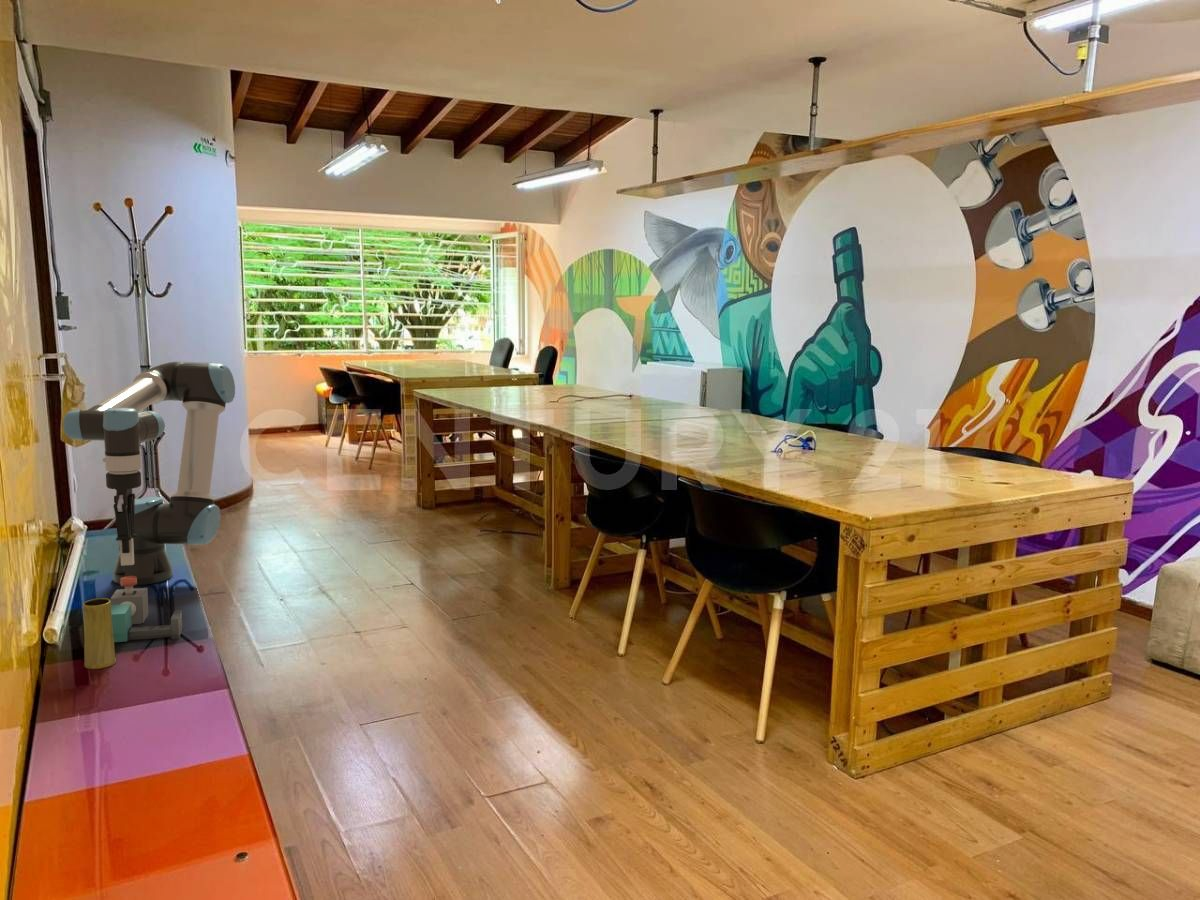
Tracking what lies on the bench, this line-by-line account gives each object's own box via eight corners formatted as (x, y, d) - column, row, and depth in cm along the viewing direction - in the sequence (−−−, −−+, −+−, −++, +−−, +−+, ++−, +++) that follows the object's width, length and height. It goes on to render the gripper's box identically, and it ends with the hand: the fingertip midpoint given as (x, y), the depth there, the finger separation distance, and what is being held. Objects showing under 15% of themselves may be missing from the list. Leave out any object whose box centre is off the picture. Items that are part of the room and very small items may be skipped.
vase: (78, 665, 186) (74, 603, 183) (105, 656, 191) (102, 595, 189) (95, 671, 183) (91, 608, 181) (122, 662, 188) (119, 600, 186)
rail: (87, 645, 196) (86, 625, 196) (93, 636, 202) (92, 616, 201) (178, 638, 203) (178, 618, 202) (182, 629, 208) (181, 610, 207)
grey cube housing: (117, 616, 215) (116, 589, 214) (148, 614, 218) (147, 587, 217) (111, 626, 209) (110, 598, 208) (143, 623, 211) (142, 596, 210)
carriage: (97, 644, 197) (95, 615, 195) (104, 633, 203) (102, 605, 202) (126, 642, 198) (125, 613, 197) (132, 631, 205) (130, 603, 204)
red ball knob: (122, 596, 214) (121, 576, 213) (138, 595, 215) (137, 575, 214) (119, 600, 210) (118, 580, 209) (136, 599, 211) (135, 579, 211)
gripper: (111, 467, 212) (116, 558, 216) (99, 476, 200) (104, 572, 204) (145, 466, 215) (149, 556, 218) (135, 475, 203) (139, 571, 206)
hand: (127, 564), depth 211 cm, fingers closed
